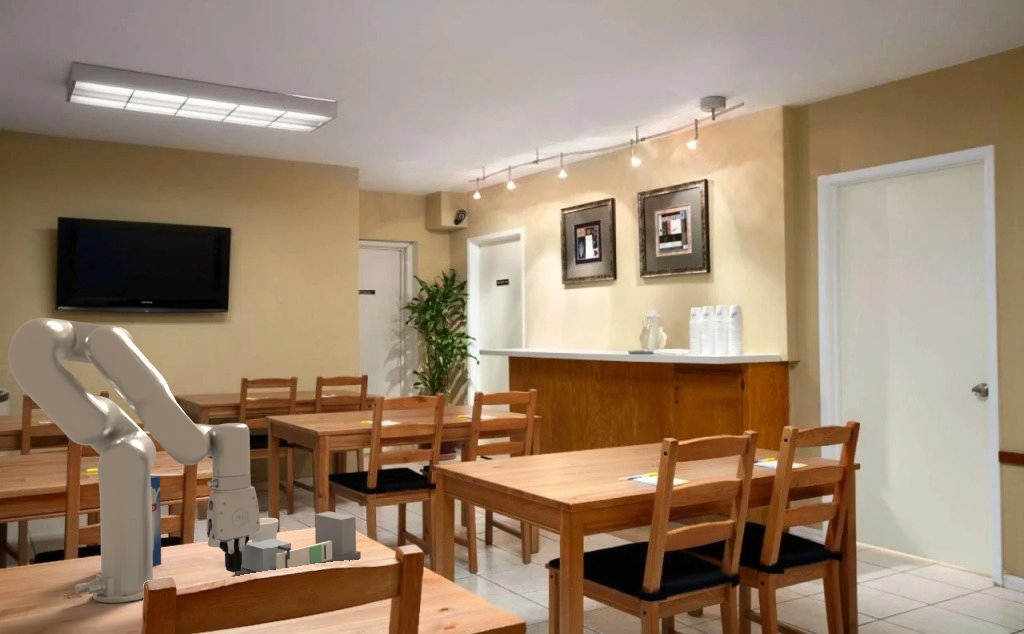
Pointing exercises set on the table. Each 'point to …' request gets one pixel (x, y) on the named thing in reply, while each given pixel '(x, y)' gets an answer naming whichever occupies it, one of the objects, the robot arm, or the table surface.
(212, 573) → the table surface
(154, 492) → the milk carton
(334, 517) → the frame
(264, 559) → the grey block
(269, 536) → the cup
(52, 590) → the table surface
